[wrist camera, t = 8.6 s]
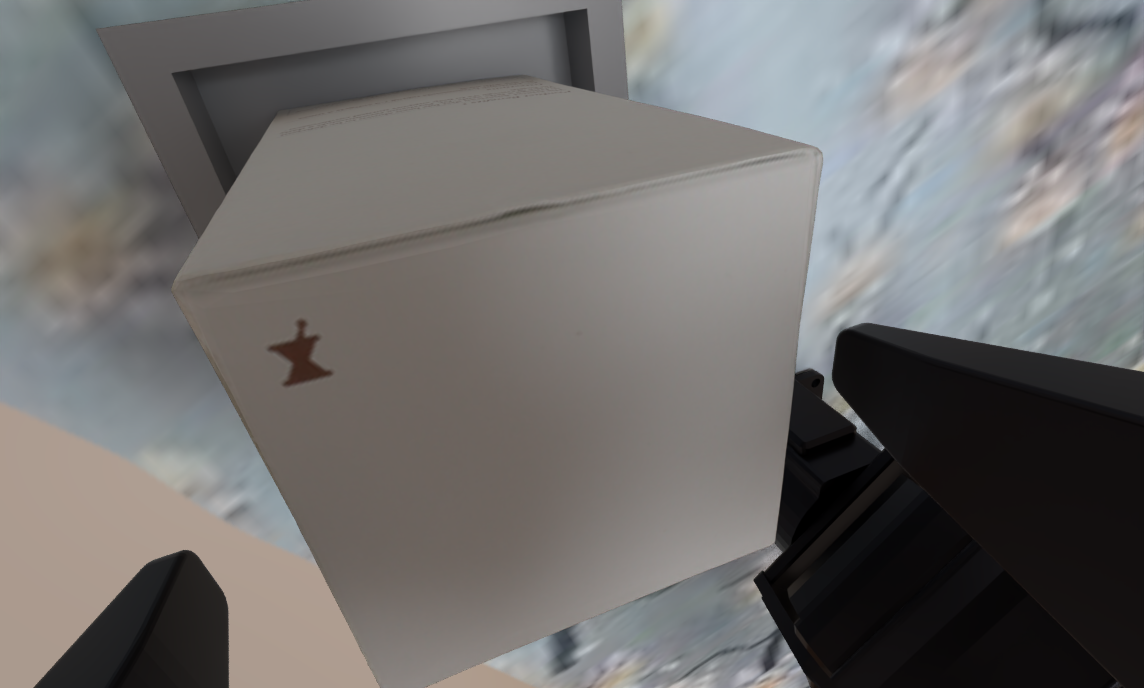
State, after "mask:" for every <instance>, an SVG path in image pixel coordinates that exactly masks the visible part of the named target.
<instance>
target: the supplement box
mask: <svg viewBox="0 0 1144 688" xmlns="http://www.w3.org/2000/svg"><path fill="white" fill-rule="evenodd" d="M822 165H823V155H822V152H821V151H820V150H819V149H818V148H816V147H814V146H811V145H808V144H804V143H800V142H796V141H793V140H789V139H785V138H782V137H778V136H774V135H771V134H767V133H763V132H760V131H756V130H753V129H749V128H745V127H741V126H737V125H733V124H729V123H725V122H721V121H717V120H713V119H709V118H705V117H701V116H696V115H692V114H688V113H683V112H679V111H675V110H670V109H666V108H662V107H658V106H653V105H649V104H644V103H640V102H635V101H631V100H626V99H622V98H618V97H613V96H609V95H605V94H601V93H596V92H592V91H588V90H584V89H580V88H575V87H571V86H567V85H562V84H558V83H554V82H551V81H547V80H543V79H539V78H536V77H532V76H528V75H515V76H506V77H498V78H489V79H481V80H474V81H467V82H460V83H453V84H446V85H439V86H432V87H425V88H418V89H411V90H405V91H399V92H393V93H386V94H380V95H374V96H368V97H362V98H355V99H349V100H343V101H336V102H330V103H324V104H317V105H311V106H305V107H299V108H294V109H286V110H280V111H278V112H277V114H276V116H275V118H274V119H273V121H272V122H271V124H270V126H269V127H268V129H267V130H266V132H265V134H264V135H263V137H262V139H261V141H260V142H259V144H258V145H257V147H256V148H255V150H254V151H253V153H252V154H251V156H250V158H249V159H248V161H247V162H246V164H245V166H244V167H243V169H242V171H241V172H240V174H239V176H238V178H237V179H236V181H235V182H234V184H233V185H232V187H231V189H230V190H229V192H228V193H227V195H226V196H225V198H224V200H223V202H222V204H221V205H220V207H219V208H218V209H217V211H216V212H215V214H214V216H213V217H212V219H211V221H210V223H209V224H208V226H207V228H206V229H205V231H204V232H203V234H202V236H201V237H200V239H199V240H198V242H197V244H196V245H195V247H194V248H193V250H192V252H191V253H190V255H189V256H188V258H187V260H186V261H185V263H184V265H183V267H182V268H181V270H180V272H179V273H178V275H177V277H176V278H175V280H174V282H173V285H172V289H171V292H172V294H173V296H174V297H175V299H176V301H177V303H178V305H179V306H180V308H181V310H182V312H183V314H184V315H185V317H186V319H187V321H188V322H189V324H190V326H191V328H192V330H193V331H194V333H195V335H196V337H197V339H198V341H199V342H200V344H201V346H202V348H203V350H204V352H205V353H206V355H207V357H208V359H209V361H210V363H211V364H212V366H213V368H214V370H215V372H216V374H217V375H218V377H219V379H220V381H221V383H222V385H223V386H224V388H225V390H226V392H227V394H228V396H229V398H230V400H231V401H232V403H233V405H234V407H235V409H236V411H237V413H238V414H239V416H240V418H241V420H242V422H243V424H244V426H245V427H246V429H247V431H248V433H249V435H250V437H251V439H252V441H253V442H254V444H255V446H256V448H257V450H258V452H259V454H260V455H261V457H262V459H263V461H264V463H265V465H266V467H267V469H268V470H269V472H270V474H271V476H272V478H273V480H274V482H275V483H276V485H277V487H278V489H279V491H280V493H281V495H282V496H283V498H284V500H285V502H286V504H287V506H288V508H289V509H290V511H291V513H292V515H293V517H294V519H295V521H296V523H297V525H298V527H299V529H300V531H301V533H302V535H303V537H304V539H305V541H306V543H307V544H308V546H309V548H310V550H311V552H312V554H313V556H314V558H315V560H316V562H317V564H318V566H319V568H320V570H321V572H322V574H323V576H324V578H325V580H326V582H327V584H328V586H329V588H330V590H331V592H332V594H333V596H334V598H335V600H336V602H337V604H338V606H339V607H340V610H341V612H342V614H343V615H344V617H345V619H346V621H347V623H348V625H349V627H350V629H351V631H352V633H353V635H354V637H355V639H356V641H357V643H358V645H359V647H360V649H361V651H362V653H363V655H364V657H365V659H366V661H367V663H368V666H369V667H370V669H371V671H372V673H373V675H374V677H375V678H376V681H377V683H378V684H379V686H380V688H425V687H428V686H430V685H432V684H434V683H437V682H439V681H441V680H444V679H446V678H448V677H450V676H453V675H455V674H457V673H460V672H462V671H464V670H467V669H469V668H471V667H474V666H476V665H479V664H481V663H484V662H486V661H488V660H491V659H493V658H495V657H498V656H500V655H503V654H505V653H507V652H510V651H512V650H515V649H517V648H520V647H522V646H524V645H527V644H529V643H532V642H534V641H537V640H539V639H541V638H544V637H546V636H549V635H551V634H554V633H556V632H558V631H561V630H563V629H566V628H568V627H571V626H573V625H575V624H578V623H580V622H583V621H585V620H587V619H590V618H592V617H595V616H597V615H600V614H602V613H605V612H607V611H609V610H612V609H614V608H617V607H619V606H622V605H624V604H627V603H629V602H631V601H634V600H636V599H639V598H641V597H644V596H646V595H648V594H651V593H653V592H656V591H658V590H661V589H663V588H666V587H668V586H670V585H673V584H675V583H678V582H680V581H683V580H685V579H688V578H690V577H692V576H695V575H697V574H700V573H702V572H705V571H707V570H709V569H712V568H715V567H718V566H720V565H723V564H725V563H727V562H730V561H733V560H735V559H738V558H740V557H743V556H745V555H748V554H750V553H753V552H755V551H758V550H760V549H763V548H766V547H768V546H771V545H772V544H773V543H774V542H775V539H776V530H777V522H778V515H779V507H780V499H781V490H782V482H783V473H784V464H785V455H786V447H787V439H788V431H789V422H790V414H791V405H792V396H793V387H794V377H795V367H796V356H797V346H798V336H799V327H800V319H801V312H802V305H803V298H804V292H805V285H806V278H807V271H808V264H809V257H810V250H811V243H812V236H813V228H814V221H815V213H816V205H817V197H818V190H819V184H820V178H821V171H822Z"/></svg>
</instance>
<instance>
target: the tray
mask: <svg viewBox="0 0 1144 688" xmlns="http://www.w3.org/2000/svg"><path fill="white" fill-rule="evenodd" d="M96 31H97V33H98V35H99V37H100V39H101V41H102V43H103V45H104V47H105V49H106V51H107V53H108V55H109V57H110V59H111V61H112V63H113V65H114V67H115V69H116V71H117V73H118V75H119V77H120V80H121V82H122V84H123V86H124V88H125V90H126V92H127V94H128V96H129V98H130V100H131V102H132V104H133V106H134V108H135V110H136V112H137V114H138V116H139V118H140V120H141V122H142V124H143V126H144V128H145V130H146V132H147V134H148V137H149V139H150V141H151V143H152V145H153V147H154V149H155V151H156V153H157V155H158V157H159V159H160V161H161V163H162V165H163V167H164V169H165V171H166V173H167V175H168V177H169V179H170V181H171V183H172V185H173V187H174V189H175V191H176V194H177V196H178V198H179V200H180V202H181V204H182V206H183V208H184V210H185V212H186V214H187V216H188V218H189V220H190V222H191V224H192V226H193V228H194V230H195V232H196V234H197V236H198V238H199V239H200V237H201V236H202V234H203V232H204V231H205V229H206V228H207V226H208V224H209V223H210V221H211V219H212V217H213V216H214V214H215V212H216V211H217V209H218V208H219V207H220V205H221V204H222V202H223V200H224V198H225V196H226V195H227V193H228V192H229V190H230V189H231V187H232V185H233V184H234V182H235V181H236V179H237V178H238V176H239V174H240V172H241V171H242V169H243V167H244V166H245V164H246V162H247V161H248V159H249V158H250V156H251V154H252V153H253V151H254V150H255V148H256V147H257V145H258V144H259V142H260V141H261V139H262V137H263V135H264V134H265V132H266V130H267V129H268V127H269V126H270V124H271V122H272V121H273V119H274V118H275V116H276V114H277V112H278V111H280V110H286V109H294V108H299V107H305V106H311V105H317V104H324V103H330V102H336V101H343V100H349V99H355V98H362V97H368V96H374V95H380V94H386V93H393V92H399V91H405V90H411V89H418V88H425V87H432V86H439V85H446V84H453V83H460V82H467V81H474V80H481V79H489V78H498V77H506V76H515V75H528V76H532V77H536V78H539V79H543V80H547V81H551V82H554V83H558V84H562V85H567V86H571V87H575V88H580V89H584V90H588V91H592V92H596V93H601V94H605V95H609V96H613V97H618V98H622V99H626V100H628V85H627V71H626V56H625V42H624V28H623V13H622V0H306V1H299V2H291V3H284V4H276V5H269V6H262V7H254V8H247V9H239V10H232V11H225V12H217V13H210V14H202V15H195V16H188V17H180V18H173V19H165V20H158V21H151V22H143V23H136V24H128V25H121V26H114V27H106V28H99V29H96Z"/></svg>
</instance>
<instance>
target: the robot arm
mask: <svg viewBox="0 0 1144 688" xmlns="http://www.w3.org/2000/svg"><path fill="white" fill-rule="evenodd" d="M832 380H833V383H834V386H835V388H836V390H837V391H838V392H839V393H840V395H841V396H842V397H843V398H844V399H845V401H846V402H847V403H848V404H849V405H850V407H851V408H852V409H853V410H854V411H855V413H856V414H857V415H858V416H859V417H860V419H861V420H862V421H863V422H864V423H865V425H866V426H867V427H868V428H869V429H870V431H871V432H872V433H873V434H874V435H875V437H876V438H877V439H878V440H879V441H880V443H881V444H882V445H883V446H884V447H885V448H884V449H883V450H882V451H881V450H879V449H878V448H877V447H875V446H874V445H873V444H872V443H870V442H869V441H868V440H866V439H865V438H864V437H862V436H861V435H860V434H859V433H857V432H856V430H857V427H856V426H855V425H854V424H853V423H851V422H850V421H849V420H848V419H846V418H845V417H844V416H842V415H841V414H840V413H838V412H837V411H836V410H834V409H833V408H832V407H831V406H829V405H828V404H827V403H825V402H824V401H823V400H822V393H823V385H824V377H823V375H822V374H820V373H819V372H817V371H815V370H812V371H809V372H806V373H803V374H800V375H797V376H795V377H794V387H793V396H792V405H791V414H790V422H789V431H788V439H787V447H786V455H785V464H784V473H783V482H782V490H781V499H780V507H779V515H778V522H777V530H776V539H775V542H774V543H775V544H776V545H777V546H778V548H779V549H780V550H781V551H782V552H783V553H782V554H781V555H780V556H779V557H778V558H777V559H776V560H775V561H774V562H773V563H772V564H771V565H770V566H769V567H768V568H767V569H766V570H765V572H764V571H761V572H760V573H759V574H758V575H757V576H756V577H755V578H754V582H755V584H756V586H757V587H758V589H759V591H760V592H761V594H762V597H761V598H762V600H763V602H764V603H765V605H766V607H767V609H768V610H769V612H770V614H771V616H772V617H773V619H774V621H775V623H776V624H777V626H778V628H779V630H780V631H781V633H782V635H783V637H784V638H785V640H786V642H787V644H788V645H789V647H790V649H791V651H792V652H793V654H794V656H795V658H796V659H797V661H798V663H799V665H800V666H801V668H802V670H803V672H804V673H805V675H806V677H807V680H808V682H809V685H810V687H811V688H1144V372H1142V371H1136V370H1130V369H1125V368H1119V367H1114V366H1108V365H1102V364H1097V363H1091V362H1086V361H1080V360H1074V359H1069V358H1063V357H1058V356H1052V355H1046V354H1041V353H1035V352H1029V351H1024V350H1018V349H1013V348H1007V347H1001V346H996V345H990V344H985V343H979V342H973V341H968V340H962V339H956V338H951V337H945V336H940V335H934V334H928V333H923V332H917V331H912V330H906V329H900V328H895V327H889V326H884V325H878V324H872V323H862V324H858V325H855V326H852V327H849V328H846V329H844V330H842V331H841V332H840V333H839V335H838V337H837V340H836V347H835V354H834V362H833V369H832ZM228 631H229V629H228V605H227V601H226V597H225V595H224V593H223V591H222V589H221V588H220V587H219V585H218V584H217V582H216V581H215V580H214V578H213V577H212V575H211V574H210V573H209V571H208V570H207V568H206V567H205V566H204V564H203V563H202V561H201V560H200V558H199V557H198V556H197V555H196V554H195V553H193V552H192V551H189V550H182V551H179V552H176V553H173V554H170V555H167V556H164V557H161V558H158V559H155V560H153V561H151V562H149V563H148V564H146V565H145V566H144V567H143V568H142V569H141V570H140V571H139V572H138V573H137V574H136V575H135V577H134V578H133V579H132V580H131V581H130V582H129V583H128V584H127V585H126V587H125V588H124V589H123V590H122V591H121V592H120V593H119V594H118V595H117V596H116V598H115V599H114V600H113V601H112V602H111V603H110V604H109V605H108V606H107V607H106V609H105V610H104V611H103V612H102V613H101V614H100V615H99V616H98V617H97V618H96V619H95V621H94V622H93V623H92V624H91V625H90V626H89V627H88V628H87V629H86V631H85V632H84V633H83V634H82V635H81V636H80V637H79V638H78V639H77V641H76V642H75V643H74V644H73V645H72V646H71V647H70V648H69V649H68V650H67V651H66V653H65V654H64V655H63V656H62V657H61V658H60V659H59V660H58V661H57V662H56V663H55V665H54V666H53V667H52V668H51V669H50V670H49V671H48V672H47V673H46V675H45V676H44V677H43V678H42V679H41V680H40V681H39V682H38V683H37V684H36V686H35V687H34V688H229V640H228V639H229V635H228V634H229V633H228Z"/></svg>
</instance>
